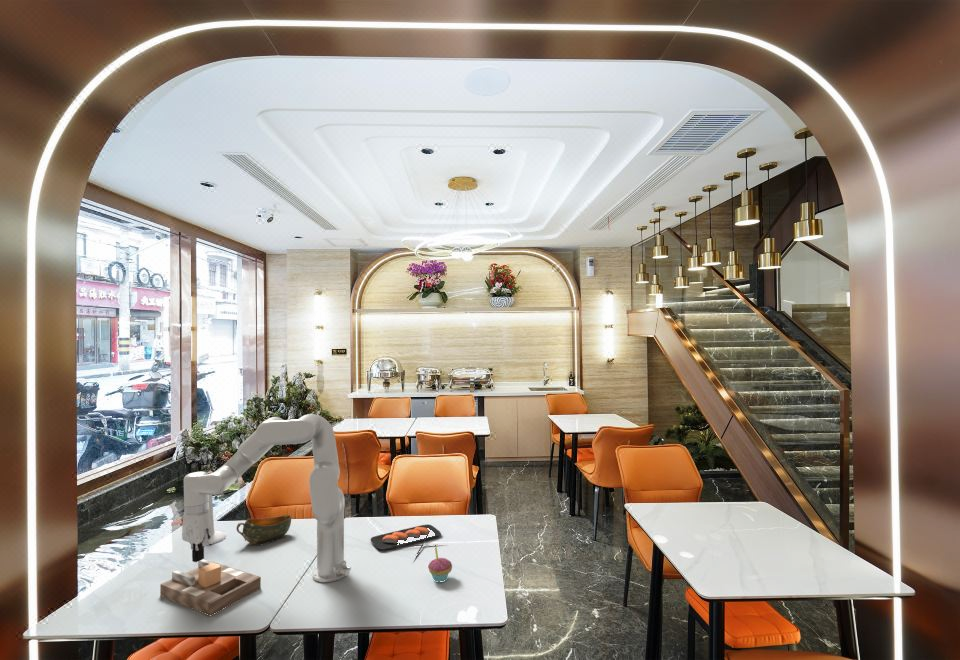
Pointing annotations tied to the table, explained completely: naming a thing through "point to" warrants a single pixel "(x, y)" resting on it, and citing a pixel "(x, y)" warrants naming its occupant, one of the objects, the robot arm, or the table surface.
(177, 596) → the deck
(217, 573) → the block
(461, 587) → the table surface
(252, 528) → the green gravy boat
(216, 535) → the candlestick
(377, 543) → the sushi plate
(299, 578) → the table surface
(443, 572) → the cupcake
